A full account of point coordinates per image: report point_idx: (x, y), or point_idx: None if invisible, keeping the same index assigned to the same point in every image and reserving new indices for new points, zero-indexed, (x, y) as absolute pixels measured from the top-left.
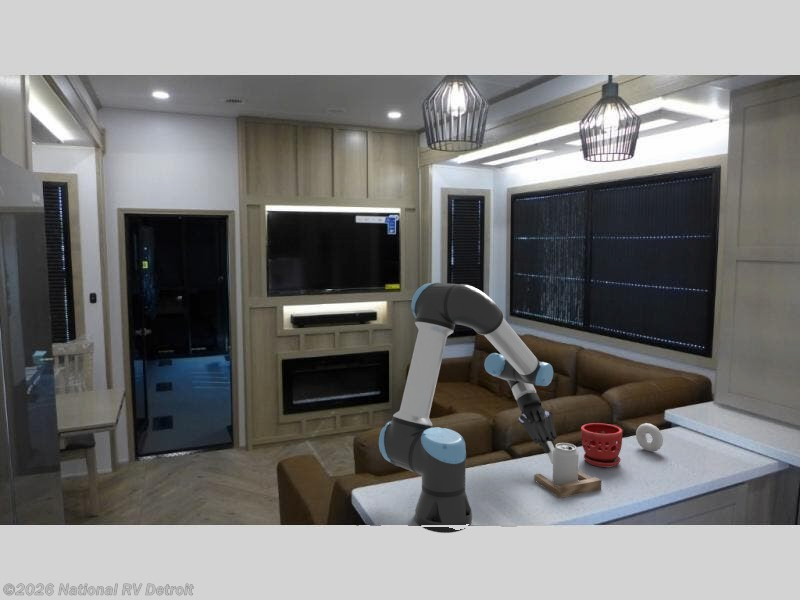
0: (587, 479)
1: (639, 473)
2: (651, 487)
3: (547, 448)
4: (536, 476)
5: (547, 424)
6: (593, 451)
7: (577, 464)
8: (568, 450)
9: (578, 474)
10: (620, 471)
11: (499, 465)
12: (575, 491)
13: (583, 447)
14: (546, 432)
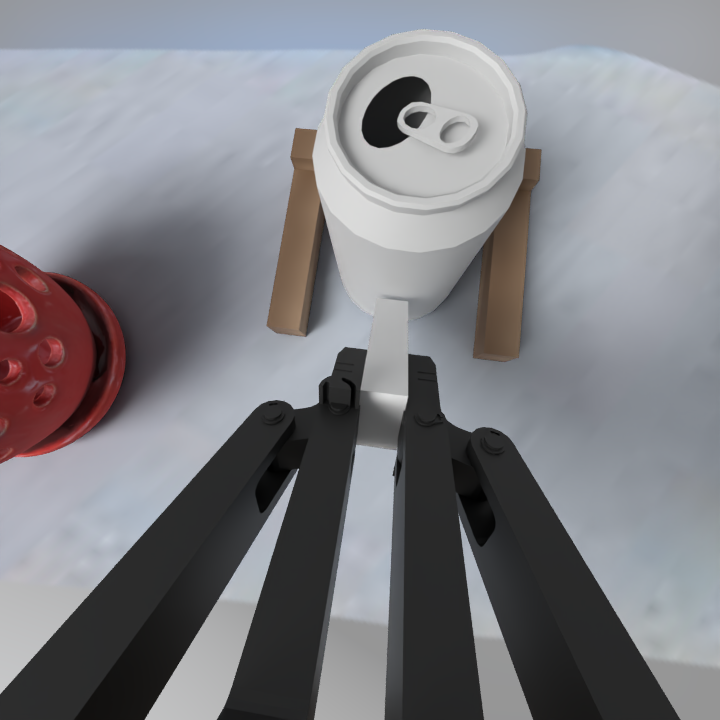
0: None
1: (32, 202)
2: (118, 97)
3: (420, 373)
4: (518, 340)
5: (161, 677)
6: (65, 321)
7: (375, 141)
8: (471, 41)
9: (310, 258)
10: (79, 253)
11: None
12: None
13: (48, 416)
14: (346, 487)
